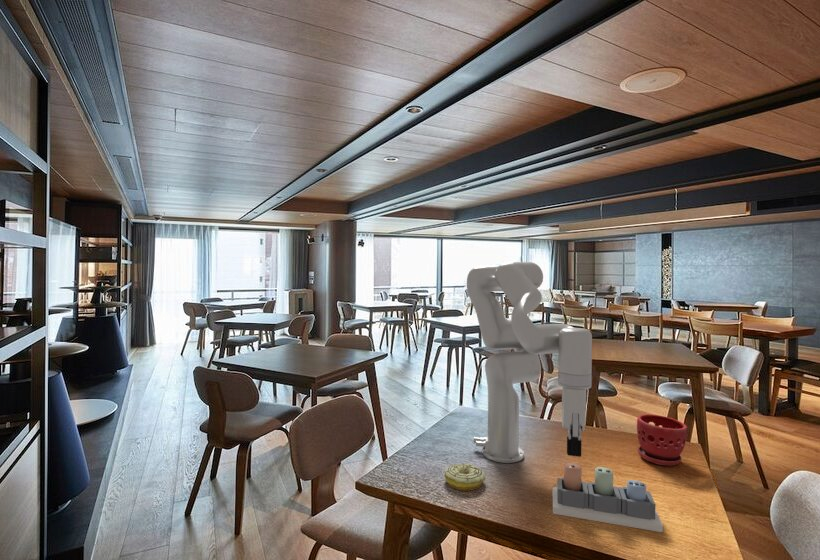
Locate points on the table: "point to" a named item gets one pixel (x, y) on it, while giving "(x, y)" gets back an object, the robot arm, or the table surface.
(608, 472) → the button two pip
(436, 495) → the table surface
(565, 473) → the button one pip
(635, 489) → the button three pip
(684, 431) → the plant pot
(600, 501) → the button board
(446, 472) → the decorated donut
